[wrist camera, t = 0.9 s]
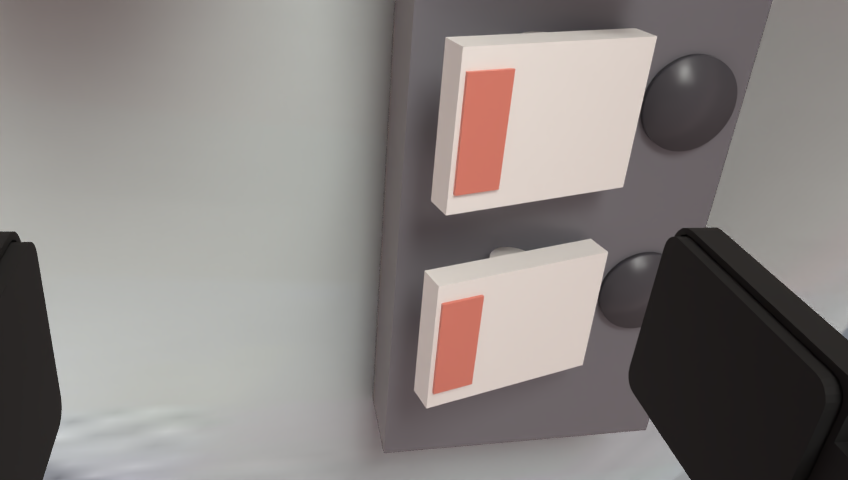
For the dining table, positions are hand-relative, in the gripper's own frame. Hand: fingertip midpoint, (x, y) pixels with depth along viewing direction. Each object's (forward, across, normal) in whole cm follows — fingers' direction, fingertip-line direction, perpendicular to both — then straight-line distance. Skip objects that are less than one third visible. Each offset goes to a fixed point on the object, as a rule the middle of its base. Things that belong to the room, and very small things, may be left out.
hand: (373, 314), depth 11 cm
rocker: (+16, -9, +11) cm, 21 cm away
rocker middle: (+16, -8, +2) cm, 18 cm away
